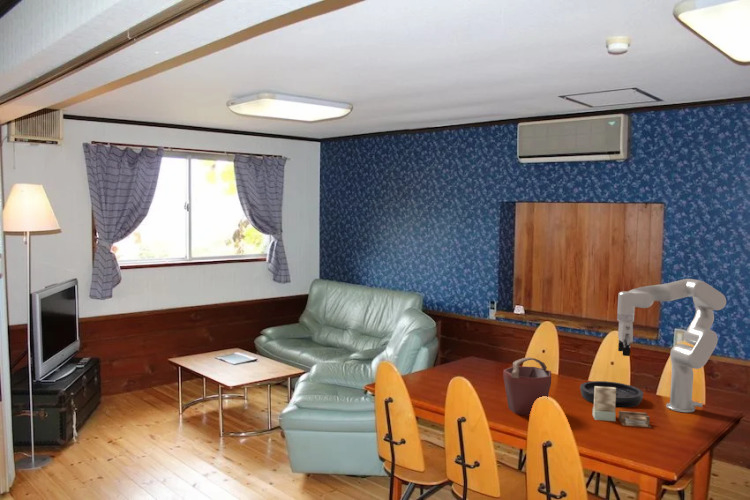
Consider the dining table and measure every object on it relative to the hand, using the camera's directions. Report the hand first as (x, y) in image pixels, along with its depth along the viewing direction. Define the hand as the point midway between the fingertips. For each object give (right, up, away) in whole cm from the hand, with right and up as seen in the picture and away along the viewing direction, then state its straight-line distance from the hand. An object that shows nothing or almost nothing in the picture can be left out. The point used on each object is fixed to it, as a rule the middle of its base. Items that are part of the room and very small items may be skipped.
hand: (623, 353), depth 298 cm
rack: (-2, -29, -16) cm, 34 cm away
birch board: (-13, -28, -10) cm, 32 cm away
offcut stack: (-2, -29, -19) cm, 35 cm away
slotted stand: (-13, -29, -10) cm, 33 cm away
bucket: (-46, -28, +2) cm, 54 cm away
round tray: (+2, -28, +22) cm, 35 cm away
